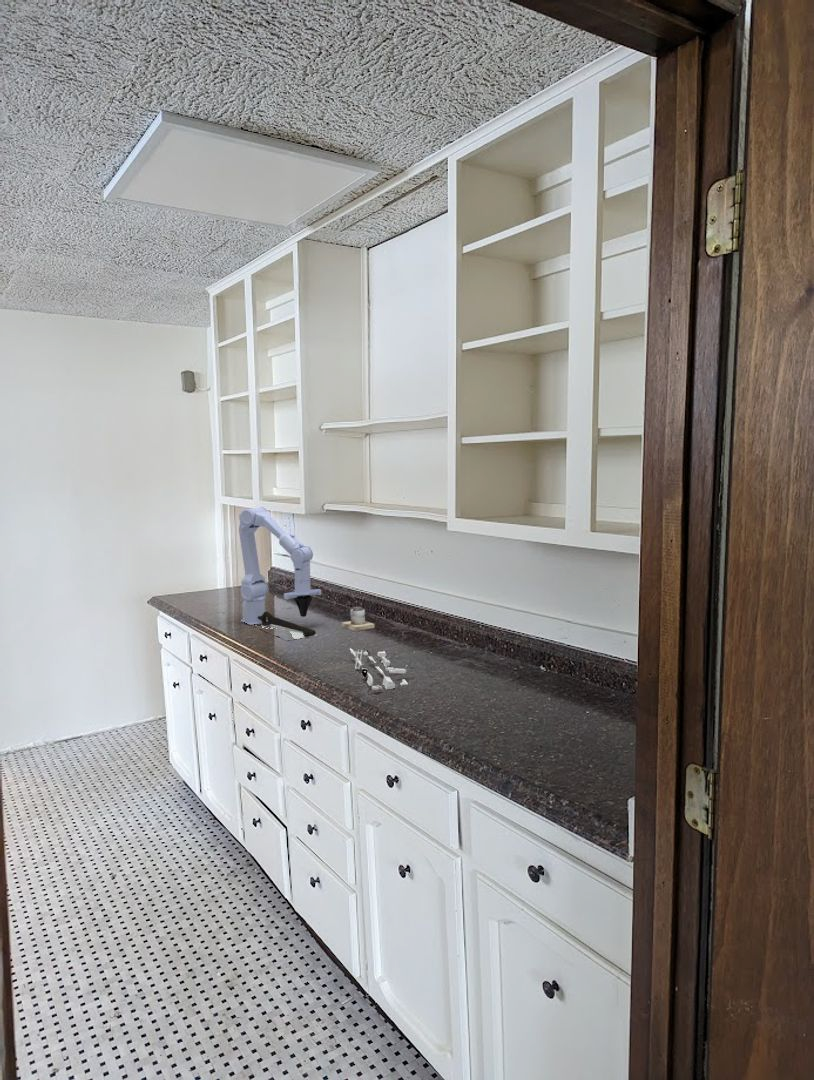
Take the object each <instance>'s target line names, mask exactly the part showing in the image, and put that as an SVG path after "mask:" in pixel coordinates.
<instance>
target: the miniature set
mask: <svg viewBox="0 0 814 1080" xmlns="http://www.w3.org/2000/svg"><path fill="white" fill-rule="evenodd" d="M349 650H350V654H352V655H353V657H354V658H355V659H354V661H355V667H354V670H355V669H356V670H357V669H358V670H359V669H360V668H361V669H360V670H362V671H361V673H360V675H362V676H363V677H362V678H364V679H365V678H366V677H367V680H366V683H367V685H368V686H369V687H371V689H372V690H373V691H378V690H382V689H383V687H384V686H385V687H384V688H385V690H387V689H388V690H393V688H394V689H395V688H396V683H395V682H393V680H392V678H391V677H390V676H386V675H385V673H384V671H383V670H382V669H381V668H380V666H375V668H376V670H377V671H378V672H379V673H380V674H382V675H383V679H382V686H381V685H378V684H377V685H373V684H374V679H373V676H372V674H370V673H369V672H368V669H367V668H366V667H365V668H364V667H362V666H363V665H364V664H362V656H363V655H364V656H367V657H368V658H369V660H370V661H372V662H373V663H374V664H377V662H376V661H375V660H374V658H373V656H372V655H371V656H370V652H369V650H368V649H367V648H365V649H364V651H363V649H361V650H360V651H359V649H357V651H356V650H355V651H354V649H352V648H350V647H349ZM359 655H360V657H359ZM377 656H378V657H381V661H380V663H381V664H383V666H384V668H385V669H384V670H386V672H389V674H406V673H407V671H408V670H406V669H405V668H394V667H390V666H391V661H390V660H389V659H387V658H386V656H387V653H386V651H385V650H383V651H378V652H377ZM357 665H358V666H357ZM375 668H374V669H375ZM383 685H384V686H383ZM399 685H400V686H408V685H409V683H408V682H407V681H406V679H401V682H400V683H399Z"/></svg>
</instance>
